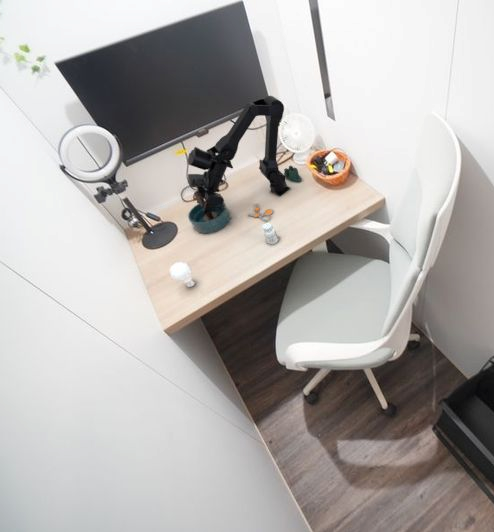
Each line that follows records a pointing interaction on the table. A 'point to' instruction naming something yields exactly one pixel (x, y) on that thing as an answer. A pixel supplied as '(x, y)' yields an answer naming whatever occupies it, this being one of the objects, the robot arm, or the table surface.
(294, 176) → the dark green lumpy piece
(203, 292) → the table surface
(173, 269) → the lightbulb
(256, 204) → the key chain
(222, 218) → the bowl
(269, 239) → the pill bottle
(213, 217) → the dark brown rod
